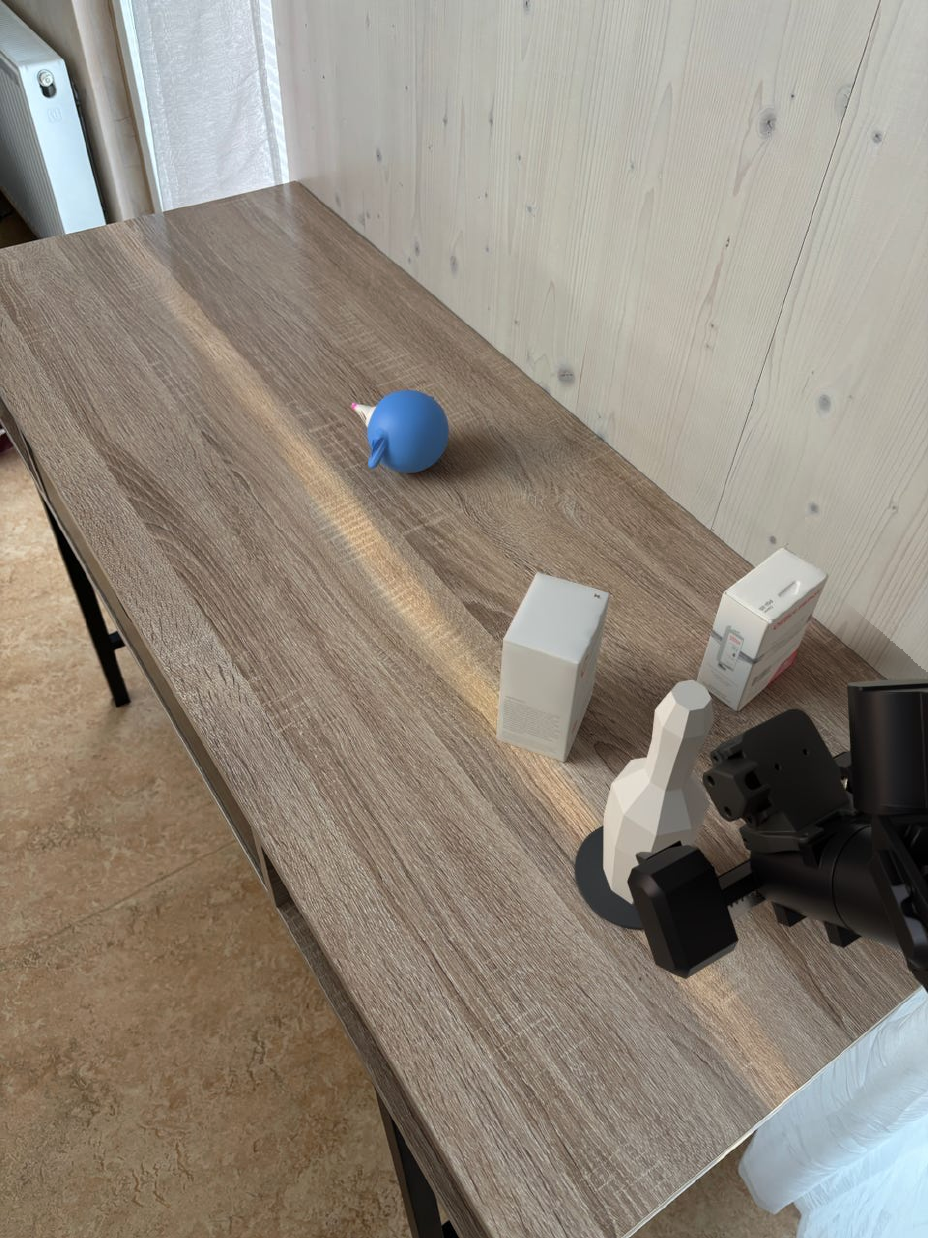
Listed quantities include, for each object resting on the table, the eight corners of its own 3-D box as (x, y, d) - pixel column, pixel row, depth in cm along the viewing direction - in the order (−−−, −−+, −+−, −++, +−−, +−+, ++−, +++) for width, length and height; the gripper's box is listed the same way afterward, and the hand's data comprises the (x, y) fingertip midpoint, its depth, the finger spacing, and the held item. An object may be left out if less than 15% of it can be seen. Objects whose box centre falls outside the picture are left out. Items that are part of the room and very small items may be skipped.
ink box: (751, 634, 94) (784, 541, 86) (795, 664, 92) (834, 572, 83) (692, 682, 90) (721, 589, 81) (737, 715, 88) (771, 623, 79)
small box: (525, 672, 90) (536, 568, 81) (593, 694, 89) (613, 591, 79) (493, 741, 85) (501, 638, 76) (565, 765, 84) (582, 664, 74)
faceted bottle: (694, 888, 76) (767, 709, 60) (628, 929, 74) (685, 755, 58) (641, 825, 80) (696, 640, 63) (576, 862, 77) (616, 680, 61)
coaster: (715, 905, 76) (716, 903, 75) (608, 947, 73) (609, 945, 73) (655, 808, 81) (656, 805, 81) (554, 844, 79) (555, 842, 78)
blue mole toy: (387, 411, 116) (385, 347, 110) (472, 450, 112) (474, 385, 106) (318, 463, 110) (311, 398, 103) (405, 507, 105) (404, 442, 99)
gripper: (958, 665, 54) (768, 661, 68) (681, 812, 47) (535, 773, 62) (1016, 856, 55) (817, 812, 69) (753, 1026, 48) (593, 938, 63)
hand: (696, 829), depth 66 cm, fingers open, 9 cm apart
